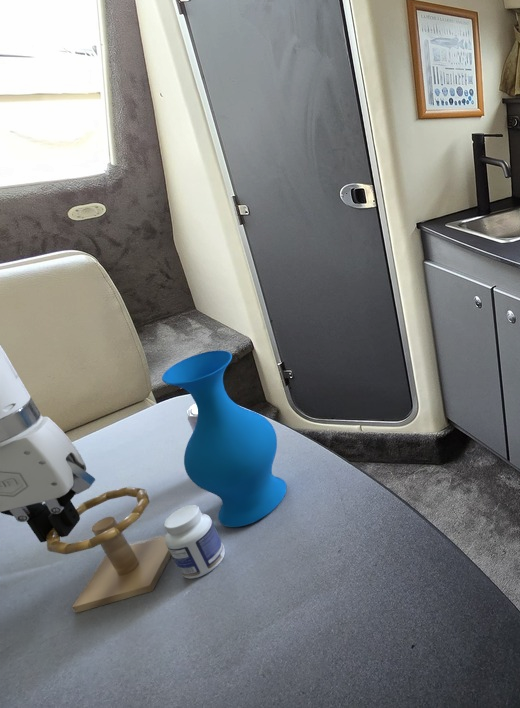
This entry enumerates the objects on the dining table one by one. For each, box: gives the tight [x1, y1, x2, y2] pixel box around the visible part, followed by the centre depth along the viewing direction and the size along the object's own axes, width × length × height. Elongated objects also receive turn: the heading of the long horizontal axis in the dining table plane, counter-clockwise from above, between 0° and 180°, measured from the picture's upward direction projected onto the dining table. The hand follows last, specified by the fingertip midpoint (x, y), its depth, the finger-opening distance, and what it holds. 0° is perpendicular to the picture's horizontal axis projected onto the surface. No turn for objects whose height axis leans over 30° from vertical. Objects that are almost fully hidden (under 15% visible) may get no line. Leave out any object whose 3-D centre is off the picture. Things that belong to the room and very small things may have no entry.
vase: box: [161, 349, 288, 528], centre depth 79 cm, size 12×13×28 cm
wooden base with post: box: [71, 516, 172, 614], centre depth 72 cm, size 9×9×10 cm
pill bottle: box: [163, 504, 226, 580], centre depth 73 cm, size 5×5×10 cm
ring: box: [46, 486, 150, 555], centre depth 69 cm, size 10×10×1 cm
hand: (61, 530), depth 68 cm, fingers closed on ring, 1 cm apart
